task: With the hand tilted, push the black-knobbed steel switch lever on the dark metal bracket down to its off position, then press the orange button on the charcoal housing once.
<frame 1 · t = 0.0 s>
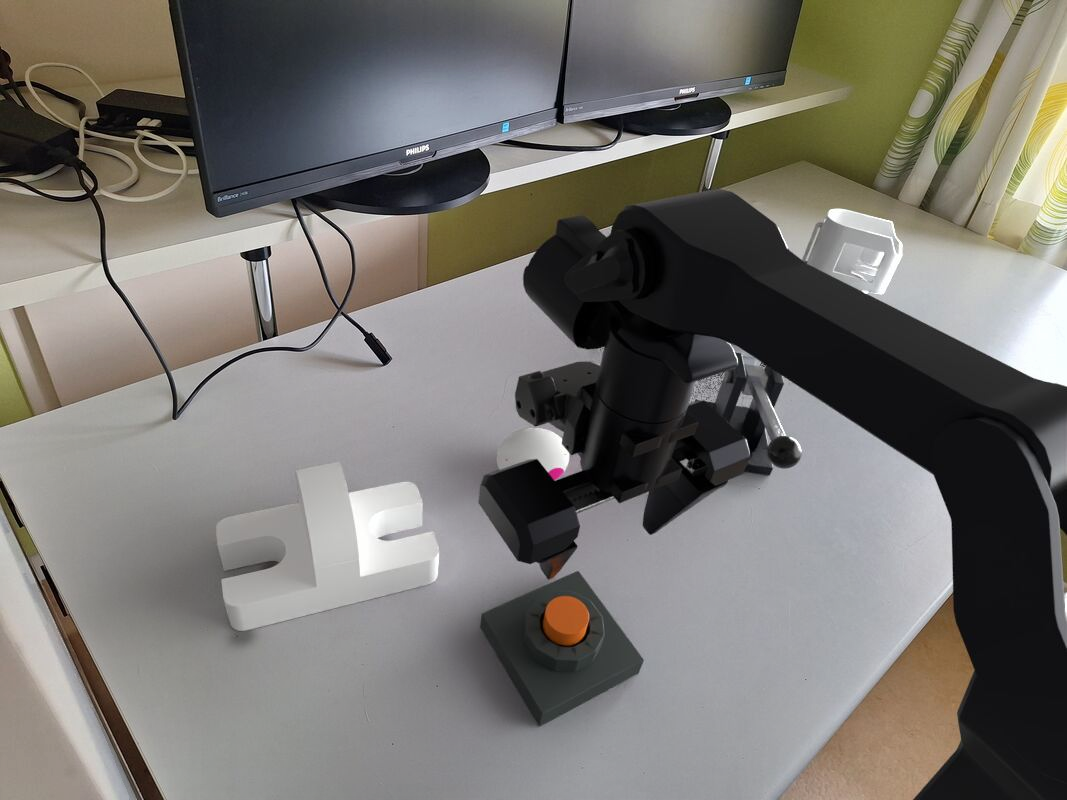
hand: (599, 551, 56), 14 cm above the table, tool pointing down, fingers open, 9 cm apart
handheld device: (768, 344, 104), on the table
lever: (767, 413, 76), point 11 cm above the table, hinge at 13.0°
button box: (558, 650, 65), on the table
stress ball: (531, 481, 80), on the table
button: (565, 620, 62), point 4 cm above the table, slide at 0.1 cm
white plastic holder: (839, 296, 116), on the table
white slotted mount: (331, 564, 69), on the table
bracket: (729, 439, 88), on the table
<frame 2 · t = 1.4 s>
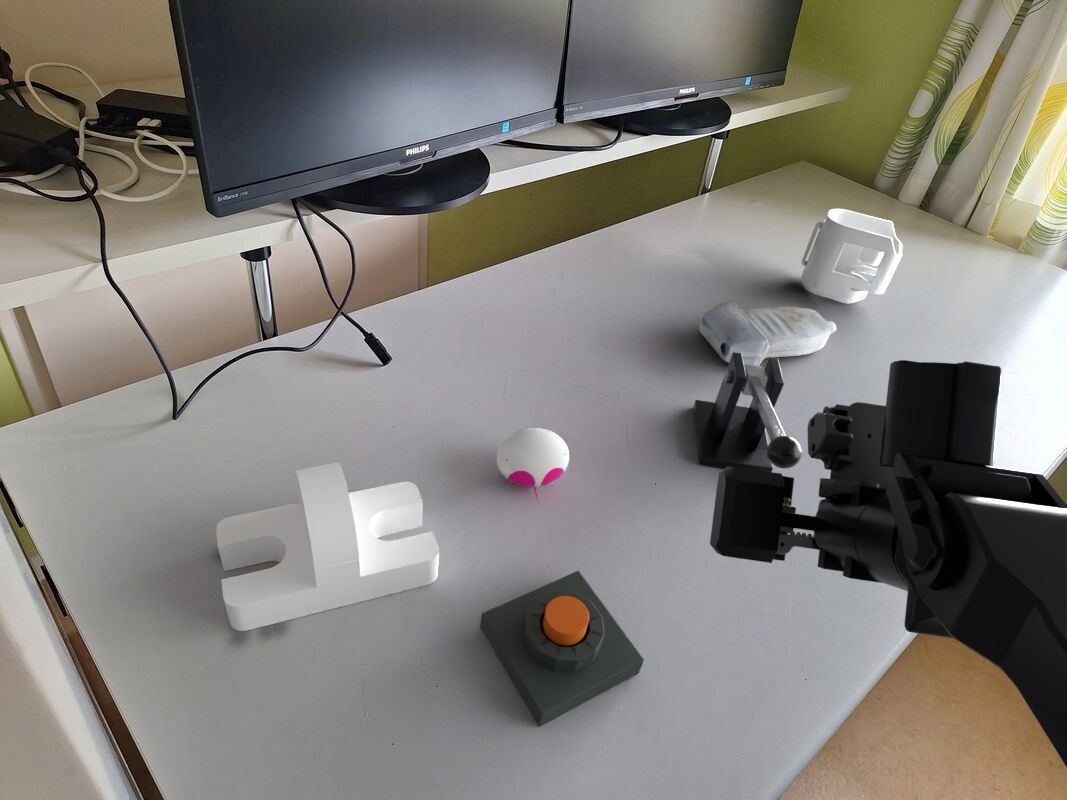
hand: (805, 519, 62), 14 cm above the table, tool tilted 45°, fingers open, 6 cm apart
nothing on the table moved.
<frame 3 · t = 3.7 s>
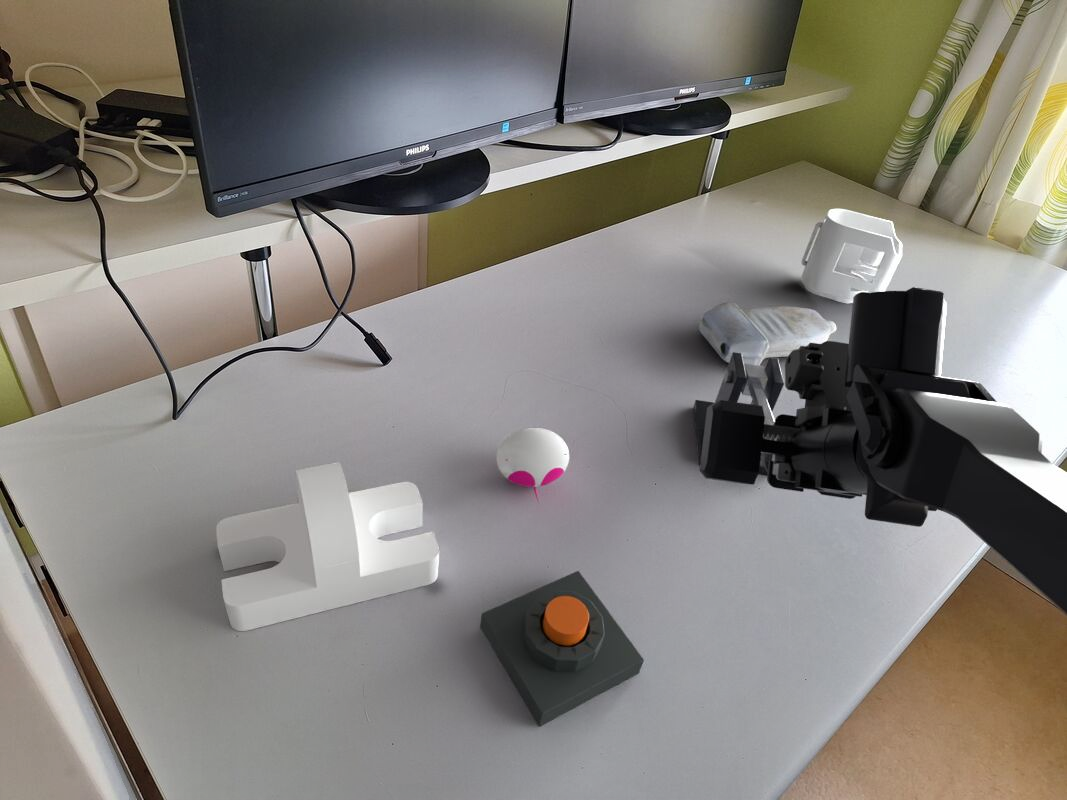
hand: (786, 458, 68), 13 cm above the table, tool tilted 45°, fingers closed, pressing on lever
lever: (765, 418, 76), point 10 cm above the table, hinge at 8.8°, touching gripper
everything else where it was.
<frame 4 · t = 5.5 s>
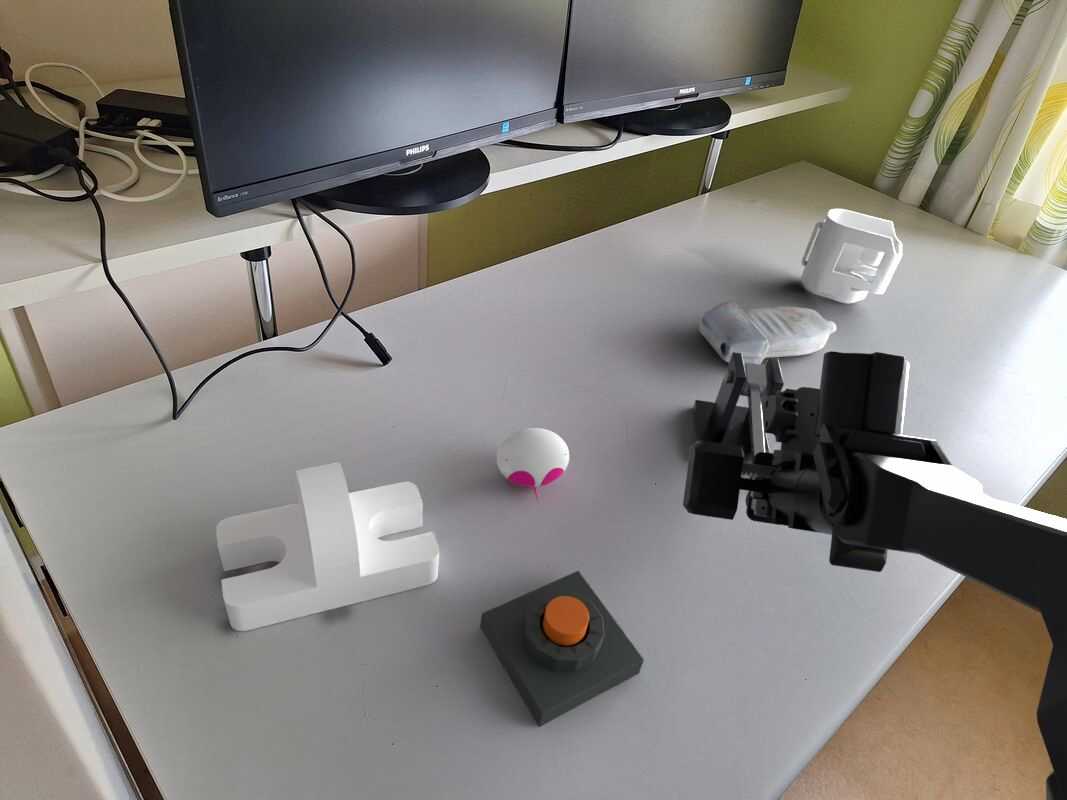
hand: (767, 488, 72), 7 cm above the table, tool tilted 45°, fingers closed, pressing on lever
lever: (757, 437, 78), point 7 cm above the table, hinge at -12.9°, touching gripper
everything else where it was.
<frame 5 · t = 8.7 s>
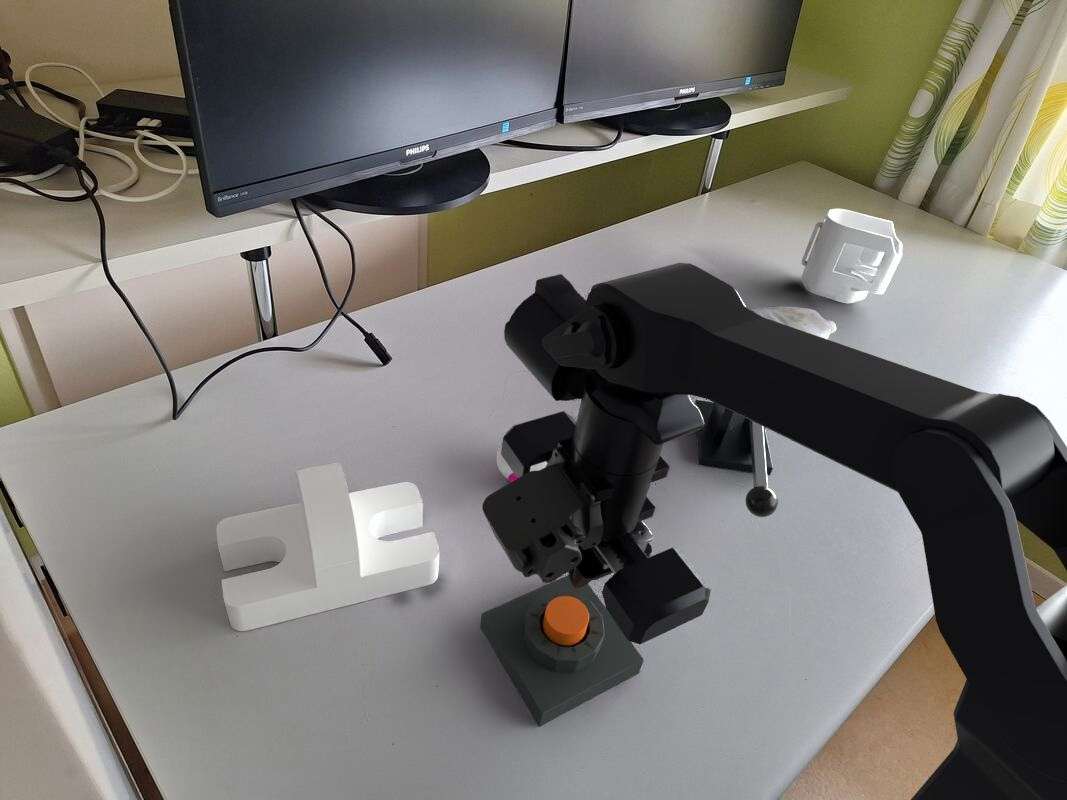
hand: (578, 583, 59), 9 cm above the table, tool pointing down, fingers closed
lever: (757, 437, 78), point 7 cm above the table, hinge at -12.9°
everything else where it was.
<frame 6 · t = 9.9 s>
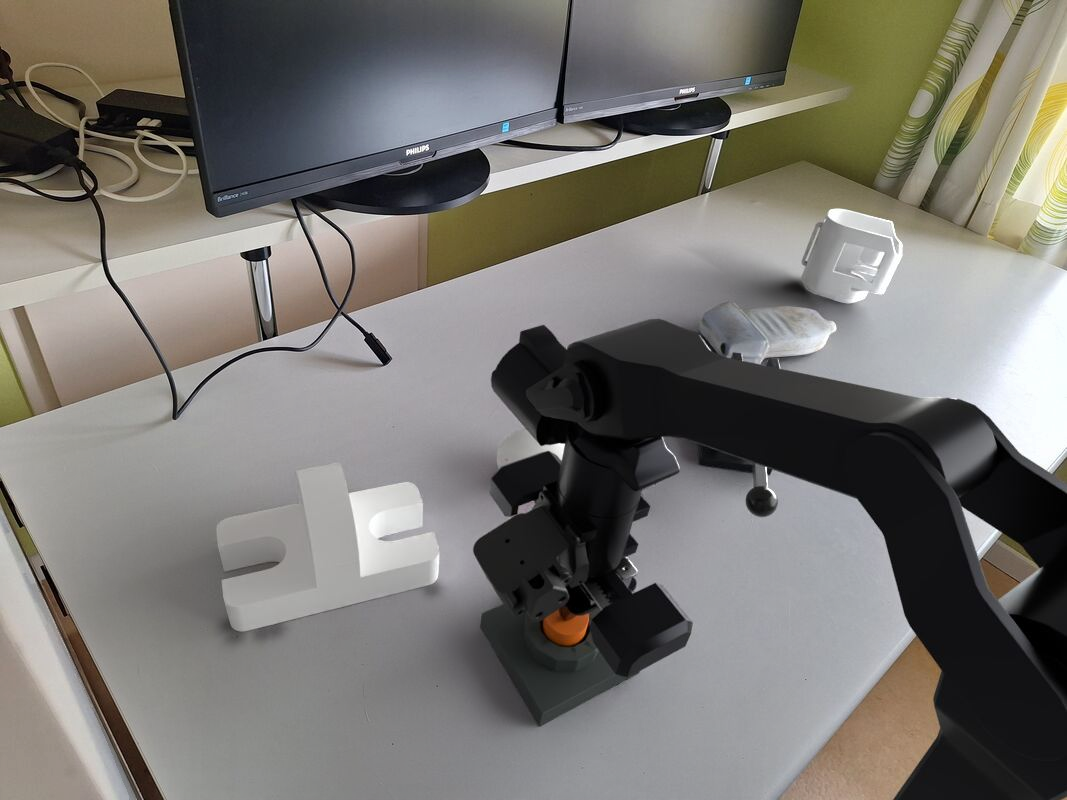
hand: (567, 615, 62), 5 cm above the table, tool pointing down, fingers closed, pressing on button
button: (565, 621, 62), point 4 cm above the table, slide at 0.0 cm, touching gripper
everything else where it was.
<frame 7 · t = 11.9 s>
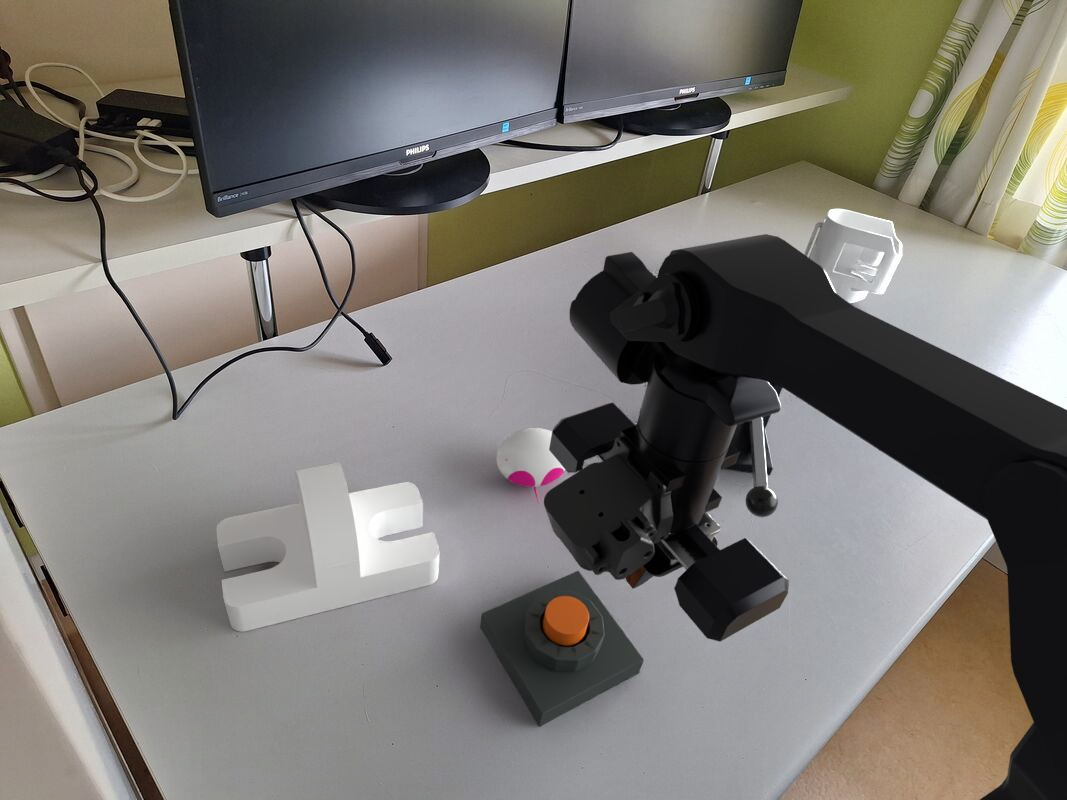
hand: (634, 583, 57), 12 cm above the table, tool pointing down, fingers closed
button: (565, 620, 62), point 4 cm above the table, slide at 0.1 cm
everything else where it was.
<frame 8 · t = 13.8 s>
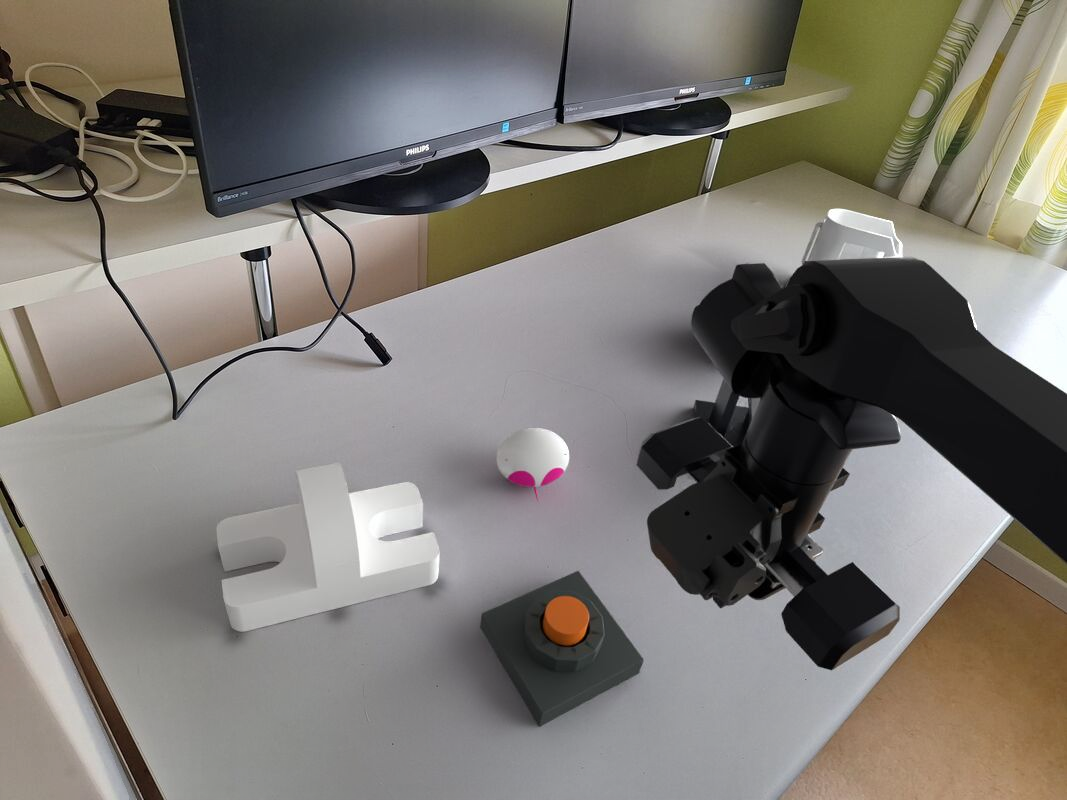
hand: (721, 602, 55), 13 cm above the table, tool pointing down, fingers closed
nothing on the table moved.
at the end: lever at -13° (first picture: +13°); button pushed in 1.1 cm at the most during the clip, back to where it started at the end; button slide at 0.1 cm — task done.
